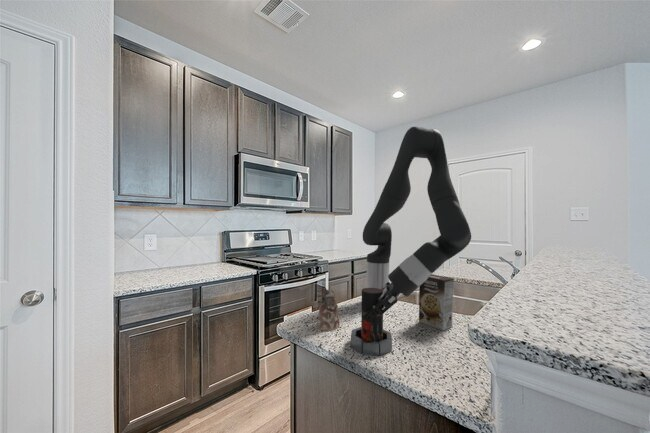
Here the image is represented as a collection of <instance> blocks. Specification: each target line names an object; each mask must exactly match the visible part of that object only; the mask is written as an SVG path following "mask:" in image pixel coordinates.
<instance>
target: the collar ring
mask: <svg viewBox="0 0 650 433" xmlns="http://www.w3.org/2000/svg"><path fill="white" fill-rule="evenodd" d="M350 334H351V335H350V348H351V349H353V350H355V351H356V352H358V353H359V354H362V355H367V356H368V355H370V356H378V357H379V356H382V355H386V354H388V353H391V352H392V351H393V337H392V333H391V332H390V331H388V330H387V329H384V328H383V340H382V341H379V342H373V341H364V340H362V339H361V327H357V328H353V329H351V333H350Z"/></svg>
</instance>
